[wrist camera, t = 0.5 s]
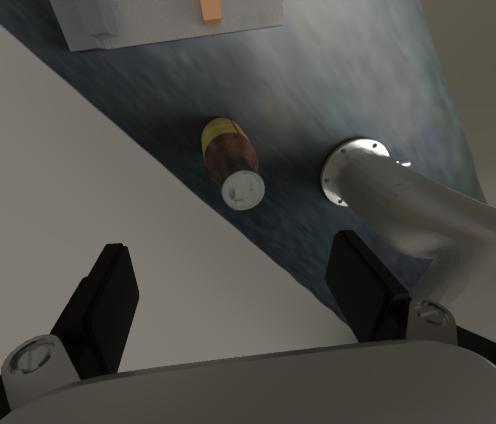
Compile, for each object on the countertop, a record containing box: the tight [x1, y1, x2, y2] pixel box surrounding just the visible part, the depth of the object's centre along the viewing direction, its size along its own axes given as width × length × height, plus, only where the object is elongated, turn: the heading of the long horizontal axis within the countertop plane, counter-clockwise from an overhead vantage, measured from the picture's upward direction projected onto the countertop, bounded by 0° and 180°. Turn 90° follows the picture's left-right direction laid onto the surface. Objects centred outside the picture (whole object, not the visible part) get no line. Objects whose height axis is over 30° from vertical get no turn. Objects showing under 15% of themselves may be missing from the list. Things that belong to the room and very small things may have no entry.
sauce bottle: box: [201, 117, 265, 210], centre depth 31 cm, size 6×6×20 cm
